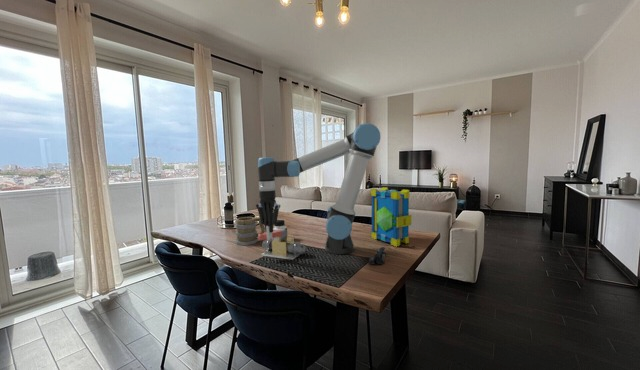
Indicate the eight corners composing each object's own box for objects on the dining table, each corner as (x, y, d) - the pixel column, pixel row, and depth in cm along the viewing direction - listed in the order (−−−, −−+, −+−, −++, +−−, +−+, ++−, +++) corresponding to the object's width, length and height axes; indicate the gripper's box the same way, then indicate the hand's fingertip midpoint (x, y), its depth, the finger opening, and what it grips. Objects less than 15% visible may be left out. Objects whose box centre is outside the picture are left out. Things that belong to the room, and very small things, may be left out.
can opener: (383, 267, 117) (383, 255, 117) (367, 265, 120) (367, 253, 120) (391, 254, 133) (391, 243, 133) (377, 253, 136) (377, 242, 136)
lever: (284, 237, 140) (284, 228, 140) (288, 238, 137) (288, 230, 137) (257, 243, 131) (256, 234, 131) (260, 245, 128) (260, 235, 128)
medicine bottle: (283, 241, 159) (283, 221, 158) (272, 240, 160) (271, 221, 159) (287, 238, 166) (286, 218, 165) (276, 237, 167) (275, 218, 166)
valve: (309, 251, 140) (308, 238, 139) (297, 260, 128) (297, 245, 127) (271, 247, 149) (271, 234, 148) (257, 254, 137) (256, 241, 136)
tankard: (238, 246, 151) (236, 220, 150) (233, 241, 162) (232, 216, 161) (272, 240, 161) (271, 216, 159) (265, 236, 172) (264, 212, 170)
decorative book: (395, 248, 141) (395, 191, 138) (366, 238, 161) (365, 188, 158) (413, 244, 148) (414, 189, 145) (384, 234, 168) (384, 186, 165)
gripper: (251, 190, 128) (253, 239, 130) (273, 191, 122) (276, 242, 124) (261, 189, 134) (263, 235, 136) (283, 189, 129) (285, 238, 131)
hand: (269, 238), depth 130 cm, fingers closed
